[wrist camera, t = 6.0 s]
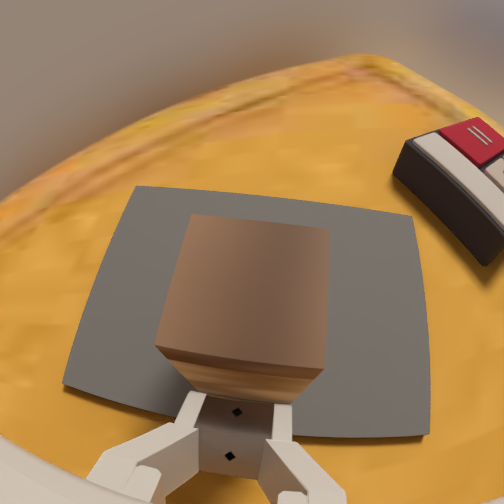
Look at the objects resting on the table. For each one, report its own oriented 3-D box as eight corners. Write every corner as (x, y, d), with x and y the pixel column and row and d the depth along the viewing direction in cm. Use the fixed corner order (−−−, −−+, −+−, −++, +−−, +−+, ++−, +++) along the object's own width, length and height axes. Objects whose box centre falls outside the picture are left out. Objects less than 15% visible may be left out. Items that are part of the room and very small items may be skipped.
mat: (66, 385, 15) (61, 383, 15) (137, 191, 23) (136, 185, 23) (424, 435, 14) (429, 434, 13) (409, 221, 22) (412, 216, 21)
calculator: (551, 179, 21) (515, 235, 16) (531, 206, 25) (483, 270, 20) (476, 111, 26) (406, 132, 21) (462, 141, 30) (389, 173, 25)
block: (198, 391, 15) (154, 344, 8) (214, 310, 17) (191, 214, 11) (289, 404, 15) (323, 368, 8) (298, 320, 17) (329, 229, 10)
